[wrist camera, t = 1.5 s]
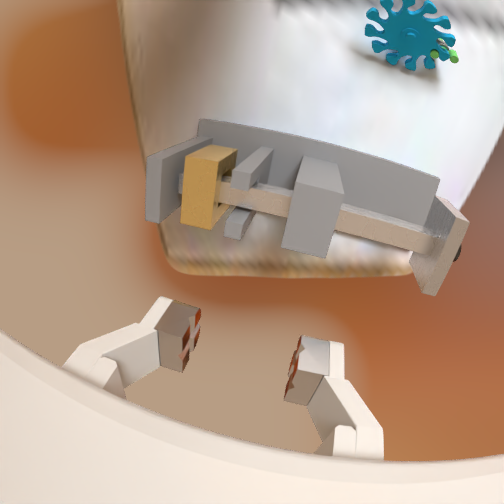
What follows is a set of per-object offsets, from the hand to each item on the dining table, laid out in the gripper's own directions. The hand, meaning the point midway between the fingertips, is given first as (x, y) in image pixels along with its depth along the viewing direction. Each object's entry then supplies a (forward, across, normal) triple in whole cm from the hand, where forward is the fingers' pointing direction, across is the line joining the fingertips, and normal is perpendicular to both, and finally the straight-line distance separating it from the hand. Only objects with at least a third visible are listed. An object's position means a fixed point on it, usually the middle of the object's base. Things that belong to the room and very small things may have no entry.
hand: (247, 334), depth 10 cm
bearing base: (+29, -2, +2) cm, 29 cm away
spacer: (+23, +8, +2) cm, 24 cm away
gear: (+29, -9, -18) cm, 36 cm away
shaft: (+22, -3, +2) cm, 22 cm away
